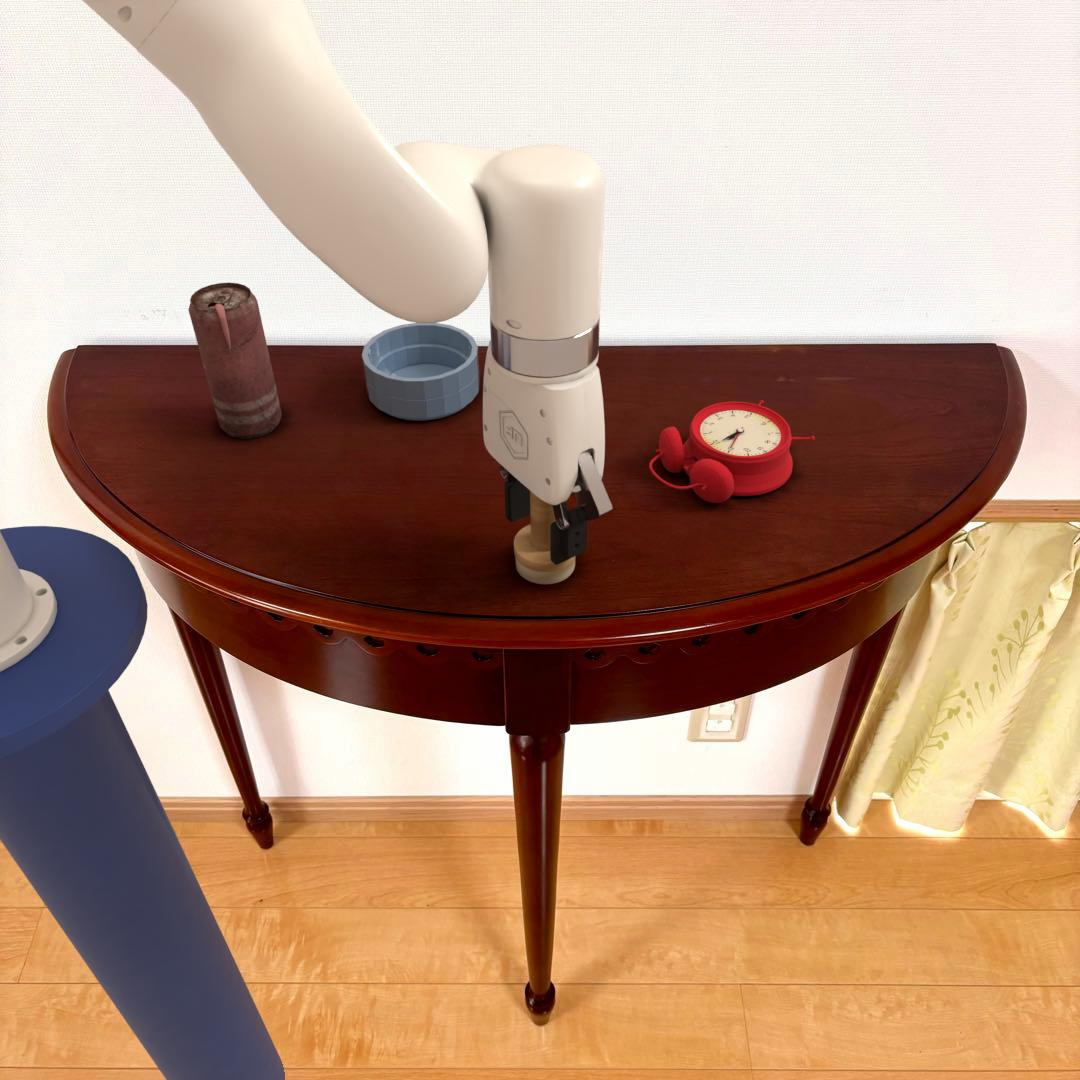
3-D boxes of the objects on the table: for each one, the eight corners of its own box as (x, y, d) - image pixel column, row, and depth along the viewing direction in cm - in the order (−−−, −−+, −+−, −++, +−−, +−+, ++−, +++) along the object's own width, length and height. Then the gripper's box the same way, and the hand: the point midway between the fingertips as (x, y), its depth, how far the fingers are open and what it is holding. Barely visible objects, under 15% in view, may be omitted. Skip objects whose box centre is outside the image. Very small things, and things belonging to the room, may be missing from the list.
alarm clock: (831, 438, 87) (711, 460, 79) (808, 495, 91) (690, 522, 83) (754, 386, 94) (636, 401, 86) (735, 441, 98) (620, 461, 90)
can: (227, 448, 93) (192, 317, 84) (215, 414, 97) (181, 287, 88) (289, 433, 95) (261, 304, 86) (275, 401, 99) (247, 274, 90)
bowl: (402, 437, 94) (397, 393, 91) (349, 385, 102) (342, 343, 98) (500, 399, 99) (499, 357, 96) (443, 352, 106) (440, 311, 103)
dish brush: (537, 594, 78) (537, 513, 72) (502, 559, 81) (499, 479, 75) (588, 569, 80) (592, 488, 74) (552, 535, 83) (552, 456, 78)
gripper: (435, 305, 70) (451, 498, 82) (575, 412, 59) (571, 615, 71) (519, 277, 73) (523, 467, 85) (667, 374, 63) (648, 575, 75)
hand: (545, 533), depth 78 cm, fingers open, 5 cm apart
